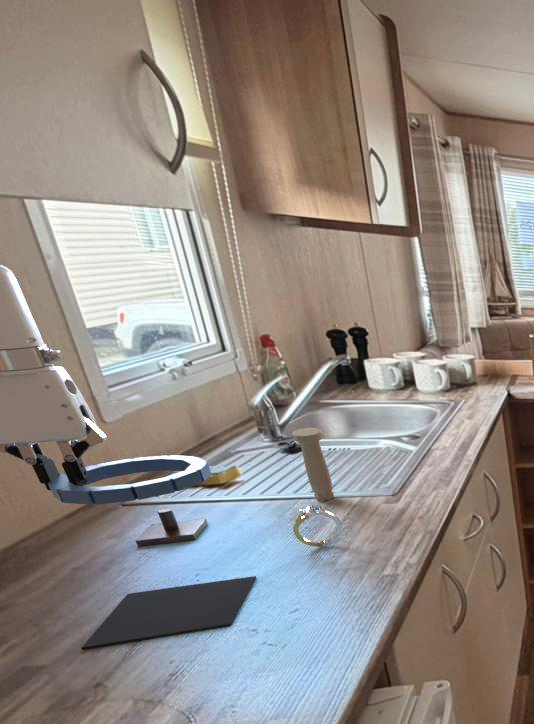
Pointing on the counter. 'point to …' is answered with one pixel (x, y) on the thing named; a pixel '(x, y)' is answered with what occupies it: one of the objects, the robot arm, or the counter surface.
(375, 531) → the counter surface
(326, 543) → the ring
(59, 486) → the ring
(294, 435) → the handle
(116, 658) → the counter surface
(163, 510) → the dowel stand
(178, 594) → the mat
